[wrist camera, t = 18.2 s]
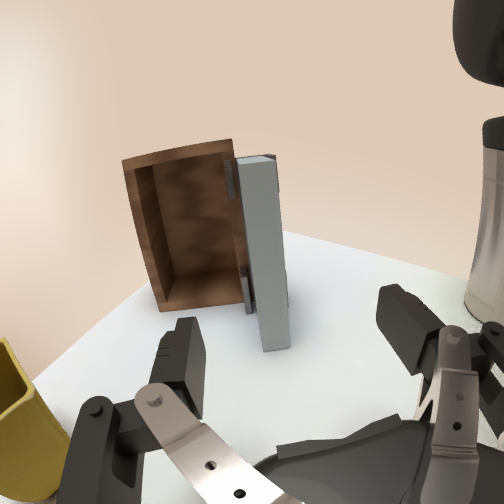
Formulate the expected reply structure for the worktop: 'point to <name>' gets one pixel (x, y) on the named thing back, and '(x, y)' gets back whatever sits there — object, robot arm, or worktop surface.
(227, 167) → the hinge clips
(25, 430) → the flower pot
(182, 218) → the cabinet
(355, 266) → the worktop surface
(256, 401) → the worktop surface
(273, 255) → the door
